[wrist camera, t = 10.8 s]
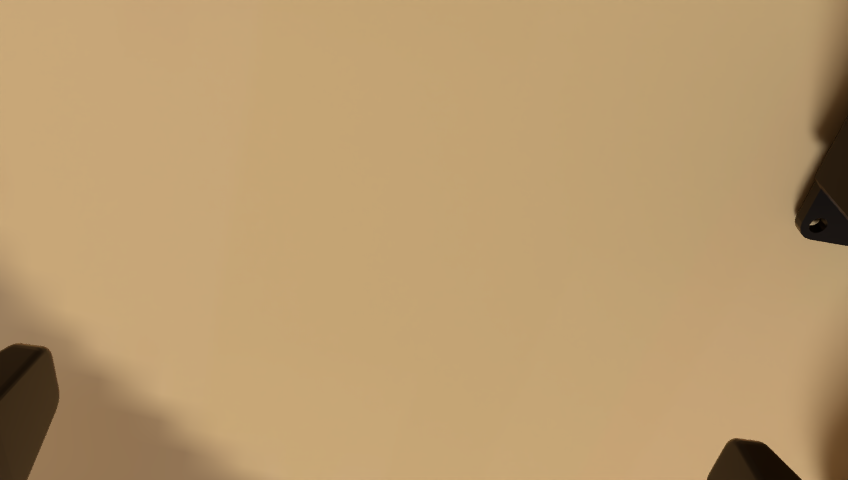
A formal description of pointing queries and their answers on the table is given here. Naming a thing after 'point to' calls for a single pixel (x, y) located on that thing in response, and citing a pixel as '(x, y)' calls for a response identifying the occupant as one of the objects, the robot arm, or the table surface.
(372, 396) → the table surface
